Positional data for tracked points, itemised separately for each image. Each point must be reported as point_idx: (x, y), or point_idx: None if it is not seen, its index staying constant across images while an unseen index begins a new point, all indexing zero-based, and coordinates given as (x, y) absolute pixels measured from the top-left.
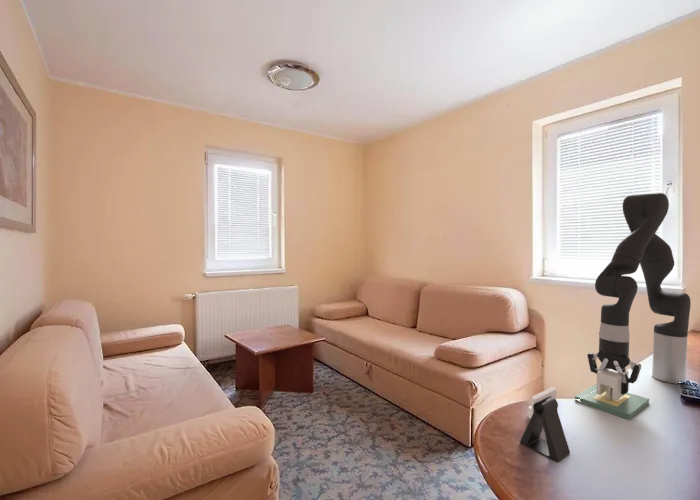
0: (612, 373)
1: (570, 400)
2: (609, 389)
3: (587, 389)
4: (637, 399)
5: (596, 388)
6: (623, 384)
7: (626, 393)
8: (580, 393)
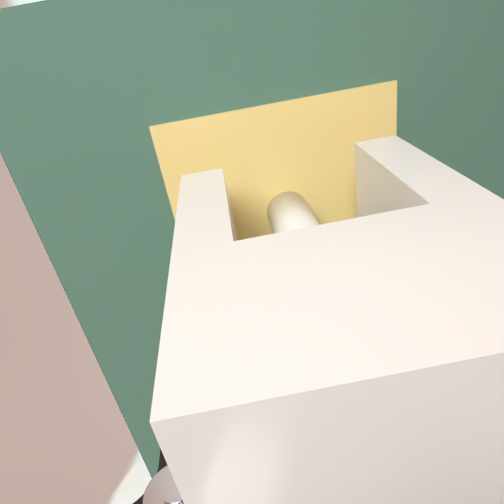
0: None
1: (148, 477)
2: (163, 99)
3: (86, 327)
4: (464, 95)
5: (90, 221)
6: None
7: (330, 17)
8: (138, 438)
